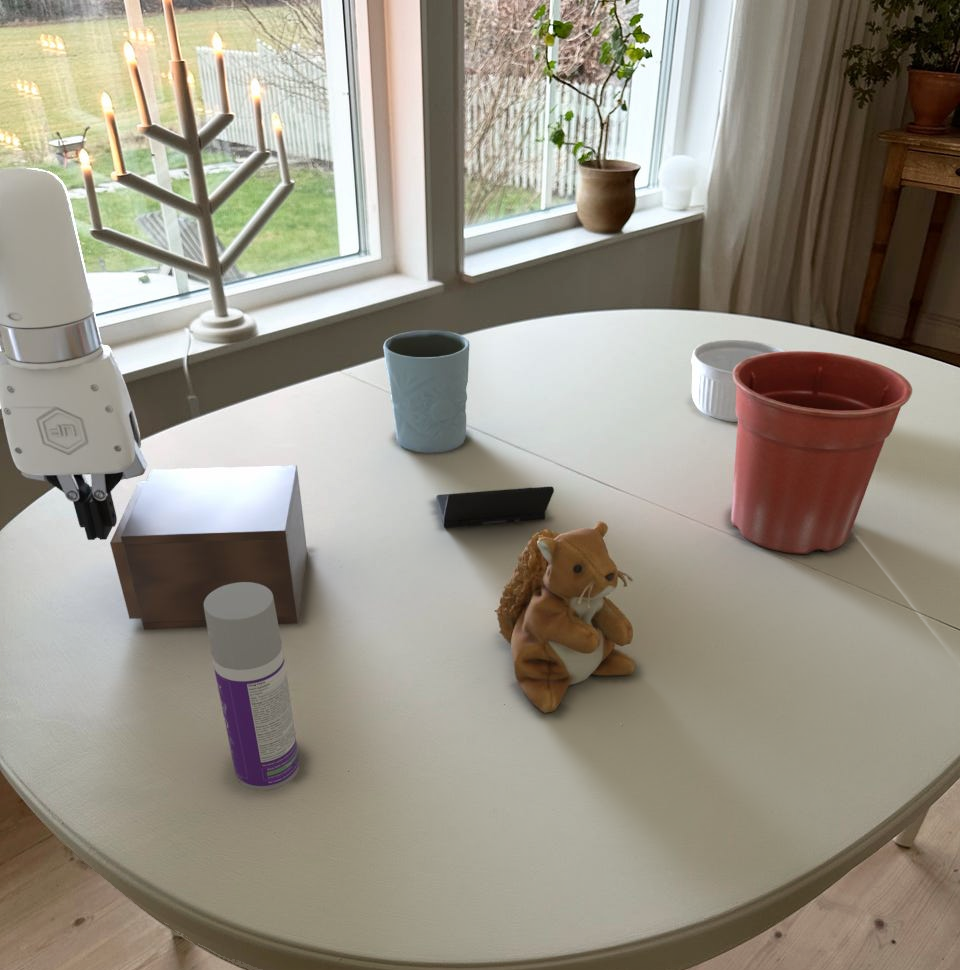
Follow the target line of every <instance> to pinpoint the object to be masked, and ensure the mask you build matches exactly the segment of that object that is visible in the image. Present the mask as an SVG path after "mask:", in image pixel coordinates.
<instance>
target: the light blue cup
mask: <svg viewBox="0 0 960 970" xmlns="http://www.w3.org/2000/svg"><path fill="white" fill-rule="evenodd" d="M382 349H383V354H384V360H385V367H386V373H387V377H388V381H389V390H390V396H391V397H390V398H391V400H390V401H391V404H392V407H393V408H392V411H393V421H394V430H395V437H396V441H397V443H398V445H399V446H400V447H401V448H403V449H405V450H409V451H412V452H416V453H425V454H434V453H435V454H436V453H445V452H449V451H452V450H455V449H457V448H459V447H460V446H462V445H463V444H464V442H465V440H466V437H467V436H466V435H467V413H466V410H467V401H468V393H467V387H468V383H469V363H470V362H469V361H470V341H469V340H468V339H467V338H466V337H464V336H463V335H461V334H459V333H456V332H453V331H447V330H438V329H437V330H436V329H424V330H423V329H422V330H413V331H407V332H406V331H405V332H402V333H397V334H395V335H393V336H390V337H389V338H387V339H386V340H385V341H384V342H383V348H382Z"/></svg>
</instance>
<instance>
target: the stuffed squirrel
mask: <svg viewBox="0 0 960 970" xmlns="http://www.w3.org/2000/svg"><path fill="white" fill-rule="evenodd" d="M608 530H609V526H608V525H607V524H606V522H603V521H601V520H600V521H597V523H595V525H594V527H593V528H591V527H582V528H577V529H574V530H569V531H566V532H564V533H561V534H560V533H557V532H555V531H552V530H551V529H548V528H545V529H541V530H539V531H538V532H536V533H534V534H532V536H530V539H529V541H528V543H527V545H526V546H525V548H524V550H523V551H522V552H521V553H520V554H519V556H517V560H518V562H517V564H516V567H515V568H514V571H513V573H511V577H510V578H511V579H509V580H508V582H507V583H506V584H505V585H504V586H503V587H504V590H503V591H501V592H502V593H501V595H502V597H500V599H499V606H498V608H497V609H495V610H494V613H496V617H497V621H498V627H499V628H500V631H499V634H501V635H502V637H503V638H504V640H506V642H507V643H509V644H510V648H511V657H512V662H513V672H514V676H515V680H516V681H517V684H518V686H519V687H520V689H521V690H522V692H523V693H524V695H525V696H526V697H527V698H528V700H529V701H530V702H531V703H532V704H533V705H534V706H535V707H536V708H538V710H539V711H540V712H542V713H544V714H547V713H552V712H555V710H557V708H558V707H559V705H560V704H561V702H562V700H563V698H564V696H565V694H566V692H567V691H568V688H569V686H570V685H576V684H579V683H581V682H584V681H585V680H587V679H588V678H589V677H590V676H591V675H594V676H631V675H632V674H633V673H634V671H635V667H636V663H635V661H634V659H632V658H631V657H630V656H629V655H628V654H625V653H623V652H621V651H620V650H617V649H615V647H616V645H617V646H619V647H624V646H626V645H630V644H631V643H632V641H633V638H634V628H633V626H632V623H631V621H630V620H629V619H628V618H627V616H626V615H625V614H624V613H623V611H621V609H619V607H618V606H616V604H615V603H614V602H613V601H612V600H610V598H607V597H606V596H609V595H610V594H611V593H613V592H614V591H615V589H616V588H617V586H618V581H619V579H620V580H621V582H622V583H623V588H626V587H628V582H627V580H628V581H630V582H633V581H634V580H633V578H632V577H631V576H630V575H628V574H627V573H625V572H623V571H621V570H618V567H617V565H616V563H615V561H614V560H613V559H612V558H611V557H610V555H609V550H608V548H607V544H606V541H605V539H604V537H605V535H607V532H608ZM625 577H627V580H626V578H625Z"/></svg>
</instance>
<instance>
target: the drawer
mask: <svg viewBox="0 0 960 970" xmlns="http://www.w3.org/2000/svg"><path fill="white" fill-rule="evenodd" d="M145 482H146V481H138V482H137V484H136V486H135V488H134V491H133V492H132V494H131V497H130V499H129V500H128V504H127V505H126V508H125V510H124V512H123V514H122V516H121V517H120V520H119V523H118V524H117V527H116V530H115V531H114V534H113V536H112V537H111V539H110V542H109V543H110V549H111V552H112V557H113V560H114V564H115V567H116V572H117V577H118V579H119V580H118V581H119V583H120V587H121V588H120V589H121V591H122V595H123V599H124V602H125V603H124V604H125V607H126V610H127V614H128V615H127V616H128V618H129V619H130V620H132V619H134V620H135V619H136V620H137V619H141V616H140V612H139V608H138V604H137V600H136V596H135V592H134V588H133V584H132V580H131V576H130V572H129V568H128V564H127V560H126V556H125V552H124V548H123V544H122V540H121V535H122V532H123V530H124V528H125V526H126V524H127V521H128V519H129V517H130V515H131V513H132V510H133V508H134V506H135V504H136V502H137V499H138V497H139V495H140V493H141V491H142V488H143V486H144V484H145Z"/></svg>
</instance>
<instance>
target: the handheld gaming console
mask: <svg viewBox="0 0 960 970" xmlns="http://www.w3.org/2000/svg"><path fill="white" fill-rule="evenodd" d="M554 493H555V489H554V487H553V486H536V487H520V488H507V489H495V490H494V489H493V490H481V491H467V492H457V493H456V492H454V493H443V494H437V495H436V504H437V507H438V511H439V515H440V518H441V521H442V524H443V528H444V529H451V528H459V527H462V528H463V527H473V526H483V525H489V524H499V523H506V524H507V523H519V522H531V521H532V522H533V521H543V520H545V519H546V511H547V509H548V507H549V504H550V502H551V499H552V497H553V495H554Z"/></svg>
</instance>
